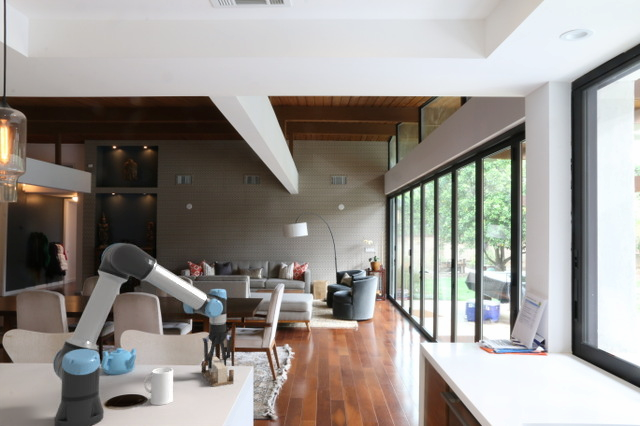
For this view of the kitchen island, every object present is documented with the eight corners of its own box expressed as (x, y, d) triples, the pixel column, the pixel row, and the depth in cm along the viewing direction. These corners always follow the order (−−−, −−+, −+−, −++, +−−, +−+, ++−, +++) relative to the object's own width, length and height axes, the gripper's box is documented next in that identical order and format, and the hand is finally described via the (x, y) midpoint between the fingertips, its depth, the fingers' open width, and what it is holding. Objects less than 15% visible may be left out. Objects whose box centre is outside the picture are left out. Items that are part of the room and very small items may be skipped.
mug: (138, 403, 172) (138, 371, 173) (151, 395, 181) (152, 365, 181) (165, 406, 170) (165, 374, 170) (177, 398, 178) (178, 367, 178)
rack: (234, 383, 196) (234, 370, 196) (211, 387, 191) (211, 374, 192) (221, 370, 216) (222, 358, 216) (200, 372, 211) (201, 361, 211)
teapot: (102, 368, 218) (103, 346, 218) (135, 365, 223) (136, 343, 224) (100, 377, 204) (100, 353, 204) (135, 374, 209) (136, 350, 210)
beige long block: (227, 381, 196) (227, 367, 196) (218, 382, 194) (218, 368, 194) (216, 369, 213) (216, 356, 214) (207, 370, 212) (208, 357, 212)
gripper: (233, 320, 212) (233, 370, 211) (197, 323, 204) (196, 375, 203) (238, 322, 205) (237, 374, 204) (200, 326, 198) (199, 379, 196)
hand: (217, 374), depth 204 cm, fingers closed on beige long block, 4 cm apart
